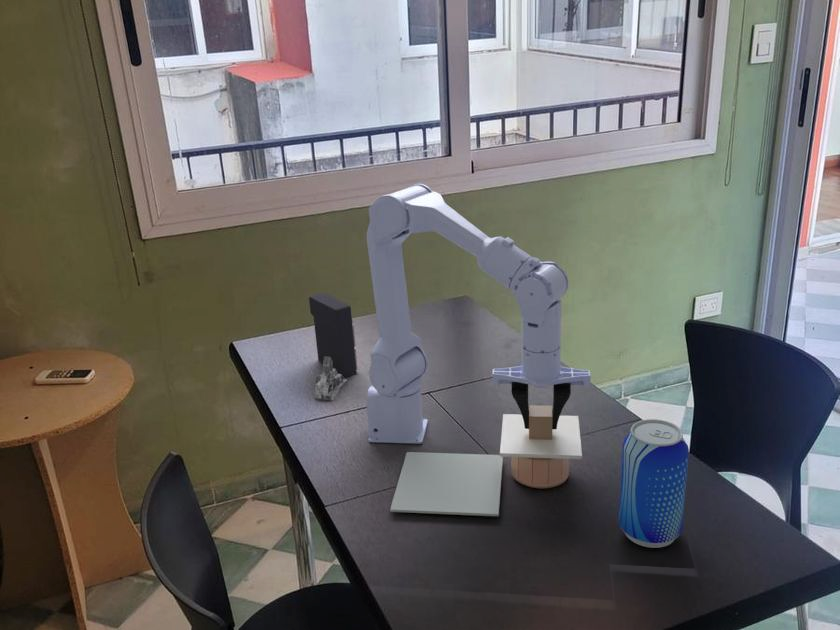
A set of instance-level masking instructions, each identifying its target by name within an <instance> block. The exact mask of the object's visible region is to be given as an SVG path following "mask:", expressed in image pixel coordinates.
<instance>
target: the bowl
mask: <svg viewBox="0 0 840 630" xmlns="http://www.w3.org/2000/svg"><path fill="white" fill-rule="evenodd" d="M570 460H571V459H560V458H528V457H510V461H511V462H510V466H511V467H510V470H511V475H512V478H513V479H514V480H515V481H517V483H519V484H521V485H522V486H526V487H528V488H534V489H550V488H555V487H558V486H560V485H562V484H564V483H565V482H566V481H567V480H568V478H569V476H570V464H571V463H570Z"/></svg>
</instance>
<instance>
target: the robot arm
mask: <svg viewBox="0 0 840 630" xmlns="http://www.w3.org/2000/svg"><path fill="white" fill-rule="evenodd" d="M368 215H369V217H368V218H369V224H368V227H367V231H366V244H367V252H368V253H367V254H368V258H369V266H370V276H371V284H372V290H373V298H374V305H375V314H376V320H377V321H376V322H377V328H378V335H379V338H378V340H377V342H376V343H375V344H374V346H373V348H372V350H371V352H370V359H371V360H370V366H369V370H368V377H369V381H370V383H371V385H370V386H369V388H368V390H367V395H366V396H367V397H366V415H367V425H368V442H369V443H386V444H387V443H388V444H417V445H420V444H423V442H424V438H425V435H426V431H427V428H428V427H427V426H428V423H429V420H428V419H427V418H423V404H422V403H423V402H422V385H421V384H422V383H423V376H424V374H425V373H427V371H428V367H429V359H428V356H427V354H426V353H425V351H424V348H423V345H422V343H423V342H422V339H421V338H420V336H417V335H416V334H414V333H413V331H412V323H411V315H410V307H409V299H408V288H407V280H406V273H405V272H406V271H405V266H404V265H405V263H404V256H403V248H402V247H403V246H402V244H403V243H404V242H405V240H406V239H408V237H409V236H410V235H411V234H419V233H428V232H435V233H436V234H438V235H439V236H441V237H443V238H445V239H446V240H448V241H449V242H450V243H451V242H452V244H455V245H457V246H458V247H459V248H462V249H463V250H464V251H466V252H468V253H469V254H471V255H473V256H474V257H476V261H477V266H478V268H479V269H480V270H481V271H482V272H484V273H485V274H486V275H488V276H490V277H491V278H493V279H494V280H495V281H497V282H498V283H500V284H501V285H503V286H504V287H505V288H507V289H508V290H509V291H511V292H513V296H514V299H515V301H516V303H517V304H518V306H519V308H520V312H521V315H520V316H521V365H519V366H518V365H516V366H511V367H503V368H492V374H491V377H492V380H491V382H492V383H491V384H492V386H493V387H494V386H500V385H503V384H504V385H505V384H506V385H507V384H508V385H511V391H510V392H511V395H512V397H513V400H514V401H515V403H516V404H517V407H518V408H519V411H520V413H521V414H520V415H522V417H523V420H524V426H525V429H529V385H532V386H533V387H534V388H535V389H548V388H549V386H553V389H552V390H553V398H552V399H553V400H552V401H553V402H552V429H557V423H558V420H559V416H560V415H561V413H562V411H563V409H564V407H565V405H566V403H568V400H569V399H570V397H571V394H572V389H571V388H572V387H571V386H582V387H583V388H590V387H591V381H592V380H591V378H592V377H591V370H589V369H578V368H572V367H565V366H561V356H562V355H561V354H562V353H561V351H562V350H561V349H562V348H561V345H562V300H561V299H562V298H563V297H564V295H565V294H566V293H567V291H568V289H569V279H568V275H567V273H566V272H565V270H563V268H561V267H560V266H559V264H558V263H556V262H554V261H541V259H539V258H538V257H536V256H534V257H533V256H532V255H530V254H528V253H527V252H526V251H524V250H522V249H521V248H519V247H518V246H516V245H515V244H514V243H515V240H514V239H512V238H510V236H508V237H506V238H504V236H502V235H501V236H495V237H490V236H488V235H487V234H486V233H484V232H483V231H482V230H480V229H479V228H478V227H477V226H475V225H474V224H473V223H471V222H470V221H468V220H467V219H466V218H465V217H464V216H463V215H461V214H460V213H458V212H457V211H456V210H455V209H453V208H452V207H450V206H449V205H448V204H447V203H446V202H445V199H444V198H443V196H442V194H440V193H438V192H436V191H434V190H432V188H430V186H428V185H427V184H424V183H415V184H412V185H411V186H409V187H406V188H404V189H401V190H398V191H395V192H391V193H389V194H383V195H381V196H379V197H378V198H377V199H375V201H374V202H373V203H372V204H371V205H370V206H369V207H368Z"/></svg>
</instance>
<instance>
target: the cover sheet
mask: <svg viewBox="0 0 840 630" xmlns="http://www.w3.org/2000/svg"><path fill="white" fill-rule="evenodd" d="M528 406H529V429H525V426H524V420H523V417H522V414H520V413H519V414H514V413H513V414H512V413H508V414H507V413H503V414H502V424H501V425H502V426H501V436H500V448H499V455H500V457H503V458H505V457H507V458H511V457H528V458H560V459H570V460H583V452H582V443H581V432H580V419H579V415H561V414H560V416H559V420H558V423H557V429H552V410H553V405H536V404H534V405H533V404H532V405H531V404H528Z"/></svg>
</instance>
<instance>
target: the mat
mask: <svg viewBox="0 0 840 630" xmlns="http://www.w3.org/2000/svg"><path fill="white" fill-rule="evenodd" d="M404 457H405V458H404V461H403V464H402V468H401V471H400V475H399V478H398V481H397V484H396V488H395V492H394V495H393V497H392V502H391V506H390V510H389V511H390V513H391V512H392V513H393V512H394V513H410V514H411V513H413V514H414V513H416V514H432V515H433V514H435V515H436V514H437V515H438V514H439V515H460V516H477V517H478V516H479V517H480V516H481V517H499V516H500V502H501V489H502V477H503V463H504V457H500V454H479V453H476V454H474V453H449V452H446V453H445V452H444V453H443V452H421V451H420V452H418V451H417V452H415V451H414V452H413V451H407V452H406V454H405V456H404Z"/></svg>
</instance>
